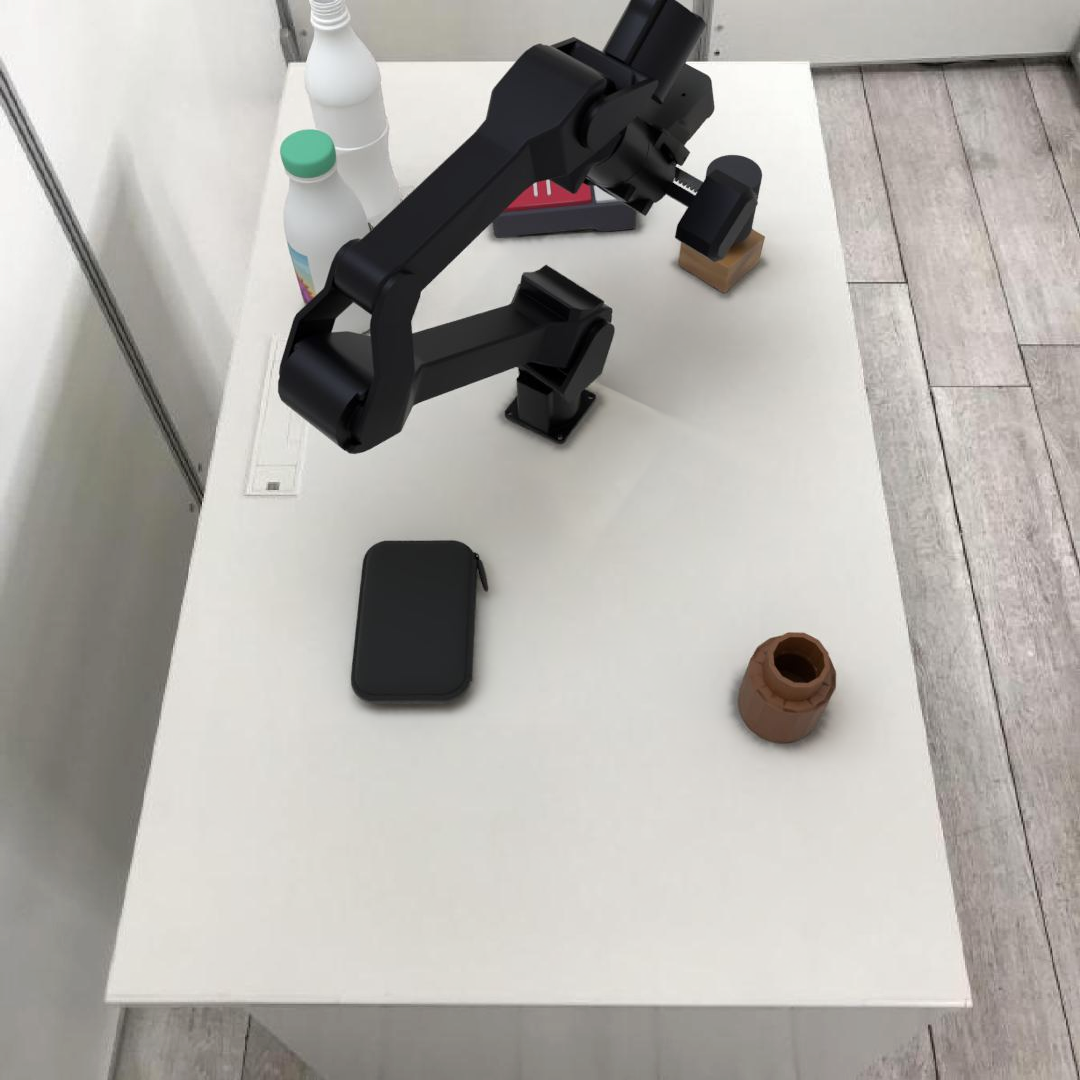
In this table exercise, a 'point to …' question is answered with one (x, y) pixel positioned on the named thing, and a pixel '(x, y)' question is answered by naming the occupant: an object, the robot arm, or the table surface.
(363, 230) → the milk bottle
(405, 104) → the table surface
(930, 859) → the table surface
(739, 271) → the block
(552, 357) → the robot arm
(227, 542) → the table surface
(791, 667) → the bottle
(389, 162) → the water bottle
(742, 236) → the bung
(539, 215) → the calculator
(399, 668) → the carrying case
